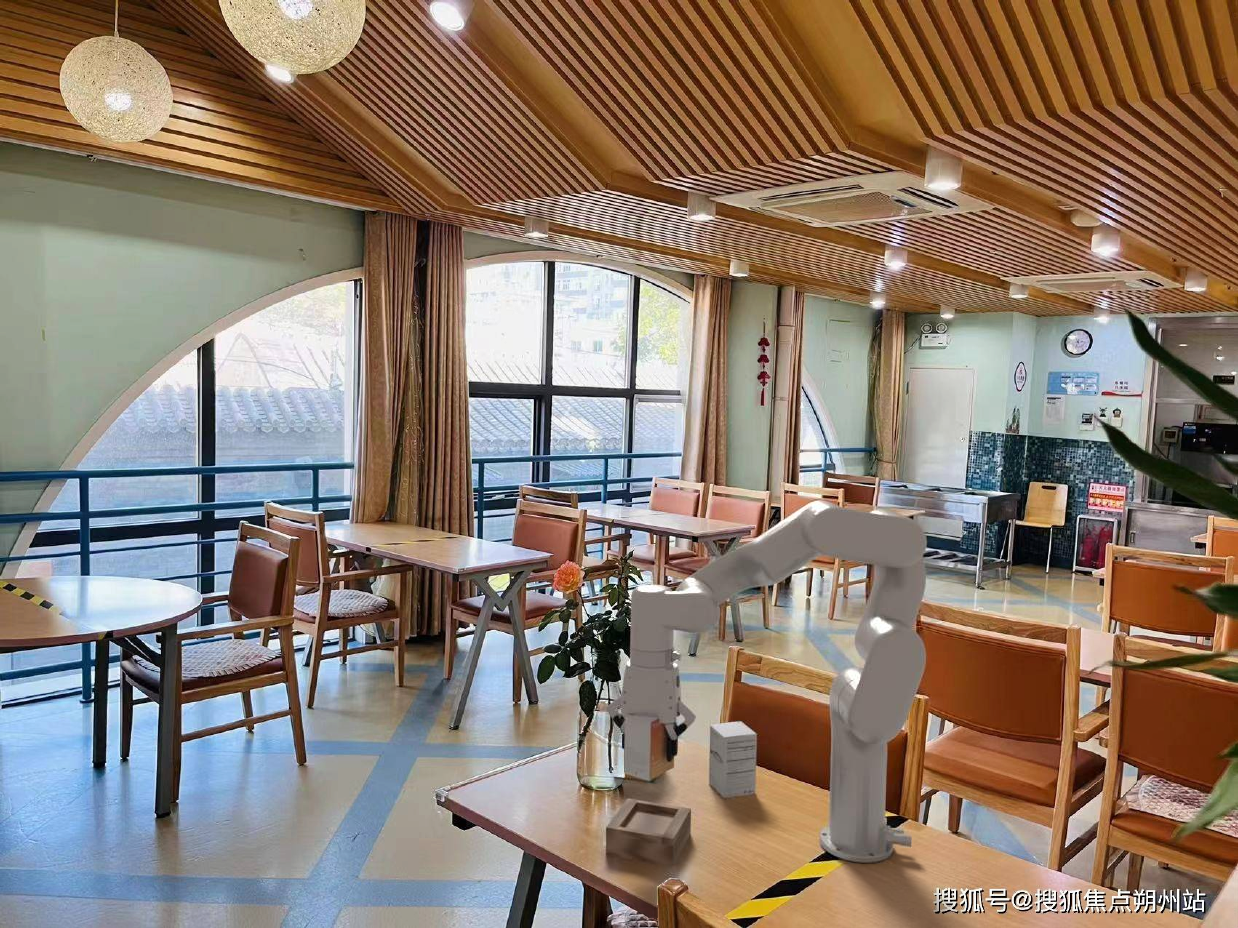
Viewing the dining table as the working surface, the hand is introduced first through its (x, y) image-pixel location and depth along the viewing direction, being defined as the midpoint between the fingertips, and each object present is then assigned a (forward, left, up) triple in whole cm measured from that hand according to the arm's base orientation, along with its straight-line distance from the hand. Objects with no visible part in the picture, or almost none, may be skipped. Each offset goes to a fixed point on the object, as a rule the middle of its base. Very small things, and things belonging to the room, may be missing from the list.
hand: (649, 755), depth 157 cm
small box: (0, 0, -3) cm, 3 cm away
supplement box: (-10, -27, -16) cm, 33 cm away
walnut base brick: (0, 0, -17) cm, 17 cm away
